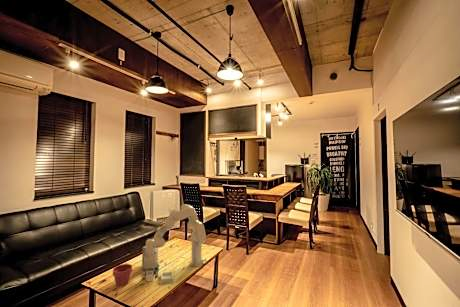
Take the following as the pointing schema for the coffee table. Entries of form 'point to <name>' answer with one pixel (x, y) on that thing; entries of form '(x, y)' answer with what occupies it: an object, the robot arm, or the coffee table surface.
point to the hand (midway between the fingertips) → (150, 275)
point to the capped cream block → (149, 274)
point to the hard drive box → (145, 254)
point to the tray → (167, 277)
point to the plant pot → (122, 274)
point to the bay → (156, 273)
